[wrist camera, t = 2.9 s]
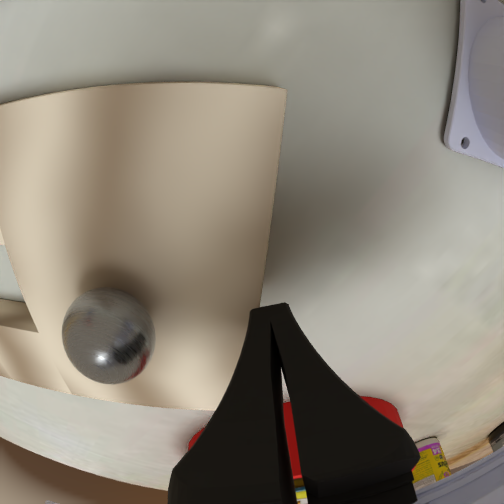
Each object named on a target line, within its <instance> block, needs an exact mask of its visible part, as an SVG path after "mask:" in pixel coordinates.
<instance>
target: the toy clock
mask: <svg viewBox="0 0 504 504" xmlns="http://www.w3.org/2000/svg"><path fill="white" fill-rule="evenodd" d="M360 397H361V398H362V399H364V400H365V401H366V402H367V403H368V404H369V405H371V406H372V407H373V408H375V409H376V410H377V411H379V412H380V413H381V414H383V415H384V416H386V417H387V418H388V419H390V420H391V421H393V422H394V423H396V424H398V425H399V426H401V427H402V428H403V425H402V422H401V419H400V417H399V414H398V411H397V409H396V408H395V407H394V406H393V405H392V404H391V403H389V402H387V401H384V400H382V399H377V398H372V397H364V396H360ZM283 409H284V422H285V429H286V436H287V442H288V448H289V455H290V461H291V467H292V473H293V479H294V485H295V491H296V497H297V503H298V504H308V501H307V495H306V490H305V486H304V482H303V479H302V475H301V469H300V462H299V455H298V448H297V441H296V435H295V428H294V421H293V415H292V409H291V402H285V403H283ZM203 430H204V428H203V429H202V430H200V431H199V432H198V433H197V434H195V435H194V436H193V438H192V439H191V441H190V442H189V448H188V451H189V449H190V448H191V447H192V446H193V444H194V443H195V441H196V440H197V439H198V437H199V436H200V434H201V433H202V431H203ZM415 467H416V466H415ZM415 467H414V468H415ZM414 468H413V469H412V471H413V470H414Z"/></svg>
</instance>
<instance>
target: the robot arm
mask: <svg viewBox="0 0 504 504" xmlns="http://www.w3.org/2000/svg"><path fill="white" fill-rule="evenodd" d="M463 138H464V143H463V145H462V146H461V141H462V139H463ZM444 143H445V145H446V147H447V148H449V149H451V150H453V151H455V152H458V153H461V154H465V155H468V156H471V157H474V158H477V159H480V160H483V161H486V162H489V163H491V164H494V165H497V166H500V167H502V168H504V4H503V3H501V2H500V1H499V0H481V1H480V0H461V1H460V27H459V41H458V52H457V61H456V69H455V77H454V84H453V91H452V97H451V103H450V108H449V114H448V119H447V124H446V129H445V134H444ZM281 368H282V372H283V375H284V379H285V383H286V386H287V390H288V393H289V397H290V402H291V409H292V415H293V421H294V428H295V435H296V441H297V448H298V455H299V462H300V469H301V475H302V479H303V482H304V486H305V490H306V495H307V501H308V504H504V446H503V447H501V448H500V449H498V450H497V451H495V452H493V453H492V454H490V455H488V456H486V457H485V458H483V459H481V460H480V461H478V462H476V463H474V464H472V465H470V466H468V467H466V468H465V469H462V470H461V471H458V472H457V473H454V474H452V475H450V476H448V477H446V478H444V479H442V480H439V481H437V482H435V483H433V484H430V485H428V486H425V487H423V488H421V489H418V490H416V491H415V489H414V486H413V482H412V481H414V476H413V473H412V469H413V468H414V467H415V466H416V464H417V463H418V462H419V460H420V458H421V457H420V453H419V451H418V448H417V447H416V445H415V443H414V441H413V440H412V438H411V437H410V435H409V434H408V432H407V431H406V430H405V429H404V428H402V427H401V426H399V425H398V424H396V423H394V422H393V421H391V420H390V419H388V418H387V417H386V416H384V415H383V414H381V413H380V412H379V411H377V410H376V409H375V408H373V407H372V406H371V405H369V404H368V403H367V402H366V401H365V400H364V399H362V398H361V397H360V396H359V395H358V394H356V393H355V392H354V391H353V390H352V389H351V388H350V387H349V386H348V385H347V384H346V383H344V382H343V381H342V380H341V379H340V378H339V377H338V375H337V374H336V373H335V372H334V371H333V370H332V369H331V368H330V367H329V366H328V365H327V363H326V362H325V361H324V360H323V359H322V357H321V356H320V355H319V354H318V352H317V351H316V350H315V349H314V347H313V346H312V345H311V343H310V342H309V340H308V339H307V337H306V336H305V335H304V333H303V331H302V330H301V328H300V327H299V325H298V323H297V322H296V320H295V318H294V316H293V314H292V312H291V310H290V307H289V304H287V303H280V304H275V305H270V306H265V307H260V308H255V309H252V310H251V311H250V313H249V322H248V327H247V332H246V336H245V340H244V343H243V347H242V350H241V353H240V357H239V360H238V362H237V365H236V368H235V370H234V373H233V376H232V378H231V380H230V383H229V385H228V387H227V389H226V391H225V394H224V396H223V398H222V400H221V402H220V403H219V405H218V407H217V409H216V411H215V412H214V414H213V416H212V418H211V419H210V421H209V422H208V424H207V426H206V427H205V428H204V430H203V431H202V433H201V434H200V436H199V437H198V439H197V440H196V441H195V443H194V444H193V446H192V447H191V448H190V449H189V451H188V452H187V453H186V454H185V455H184V457H183V458H182V459H181V460H180V461H179V462H178V464H177V465H176V466H175V467H174V468H173V470H172V474H171V478H170V483H169V487H168V504H298V503H297V497H296V491H295V485H294V479H293V473H292V467H291V461H290V455H289V448H288V442H287V436H286V429H285V422H284V409H283V392H282V376H281ZM45 504H58V503H55V502H51V501H48V500H47V501H46V502H45Z"/></svg>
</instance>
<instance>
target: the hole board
mask: <svg viewBox="0 0 504 504" xmlns="http://www.w3.org/2000/svg"><path fill="white" fill-rule="evenodd" d="M286 97H287V89H283V88H280V87H274V86H264V85H253V84H240V83H222V82H147V83H130V84H117V85H106V86H96V87H88V88H80V89H73V90H66V91H60V92H54V93H49V94H43V95H38V96H33V97H28V98H24V99H19V100H15V101H11V102H7V103H3V104H0V245H5V246H6V250H7V253H8V256H9V259H10V262H11V265H12V268H13V271H14V274H15V276H16V279H17V282H18V285H19V287H20V290H21V292H22V295H23V297H24V300H25V302H26V303H24V302H17V301H11V300H4V299H0V376H3V377H6V378H10V379H13V380H16V381H20V382H23V383H27V384H31V385H35V386H38V387H42V388H46V389H51V390H55V391H59V392H64V393H68V394H73V395H78V396H83V397H89V398H94V399H100V400H106V401H113V402H119V403H127V404H134V405H143V406H152V407H162V408H174V409H189V410H211V411H216V409H217V407H218V405H219V403H220V402H221V400H222V398H223V396H224V394H225V391H226V389H227V387H228V385H229V383H230V380H231V378H232V376H233V373H234V370H235V368H236V365H237V362H238V360H239V357H240V353H241V350H242V347H243V343H244V340H245V336H246V332H247V327H248V322H249V313H250V311H251V310H252V309H255V308H259V307H260V300H261V293H262V286H263V279H264V271H265V264H266V257H267V249H268V242H269V234H270V227H271V219H272V211H273V204H274V196H275V188H276V180H277V172H278V164H279V156H280V148H281V140H282V131H283V123H284V115H285V106H286ZM100 287H111V288H117V289H120V290H123V291H125V292H128V293H129V294H131V295H133V296H134V297H135V298H137V299H138V300H139V301H140V302H141V303H142V304H143V305H144V307H145V308H146V309H147V311H148V313H149V314H150V316H151V319H152V321H153V324H154V328H155V335H156V343H155V350H154V353H153V356H152V359H151V361H150V363H149V364H148V366H147V367H146V369H145V370H144V371H143V372H142V373H141V374H140V375H138V376H137V377H135V378H134V379H132V380H130V381H128V382H125V383H121V384H114V385H112V384H102V383H98V382H95V381H93V380H90V379H89V378H87V377H85V376H84V375H83V374H81V373H80V372H79V371H78V370H77V369H76V368H75V367H74V366H73V364H72V363H71V362H70V360H69V358H68V357H67V355H66V352H65V350H64V346H63V342H62V324H63V319H64V317H65V314H66V312H67V310H68V308H69V307H70V305H71V304H72V303H73V301H74V300H75V299H76V298H77V297H79V296H80V295H81V294H83V293H85V292H87V291H89V290H91V289H95V288H100Z"/></svg>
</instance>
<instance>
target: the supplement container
mask: <svg viewBox="0 0 504 504" xmlns="http://www.w3.org/2000/svg"><path fill="white" fill-rule="evenodd" d="M488 440H489V443H490V445H491V447H492V449H493V452H495V451H497V450H498V449H500V448H501V447H503V446H504V422H503V423H502V424H501V425H500V426H498V427H497V428H496V429H495V430H494V431H493V432H492V433H491V434H490V436H489V439H488Z"/></svg>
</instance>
